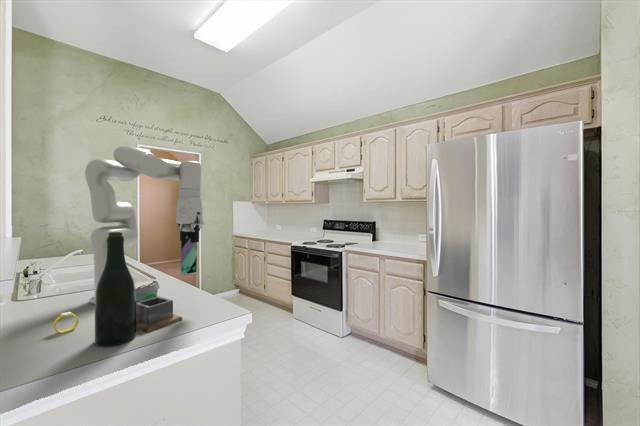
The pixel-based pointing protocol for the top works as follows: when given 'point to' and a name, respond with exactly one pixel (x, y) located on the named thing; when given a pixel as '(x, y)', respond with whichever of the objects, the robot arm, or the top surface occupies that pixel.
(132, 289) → the beer bottle
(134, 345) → the top surface
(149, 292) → the food container
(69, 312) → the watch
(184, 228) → the spray can
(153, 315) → the can holder
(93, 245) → the robot arm
